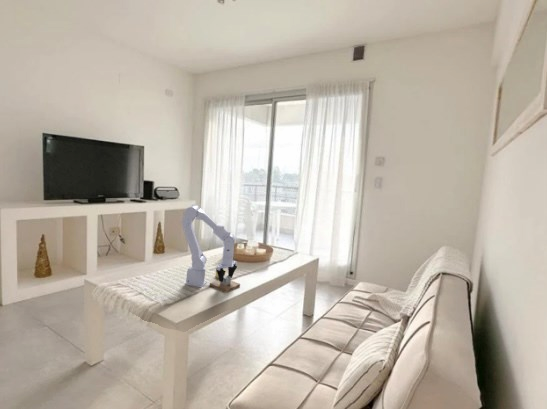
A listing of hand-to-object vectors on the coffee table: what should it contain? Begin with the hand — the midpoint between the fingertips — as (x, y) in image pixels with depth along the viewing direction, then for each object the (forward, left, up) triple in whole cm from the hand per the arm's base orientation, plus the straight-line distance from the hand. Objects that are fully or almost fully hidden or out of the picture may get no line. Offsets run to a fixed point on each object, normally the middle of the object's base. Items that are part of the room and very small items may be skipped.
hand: (225, 279), depth 170 cm
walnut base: (0, 0, -4) cm, 4 cm away
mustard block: (-7, +12, -4) cm, 14 cm away
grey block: (0, 0, -2) cm, 2 cm away
